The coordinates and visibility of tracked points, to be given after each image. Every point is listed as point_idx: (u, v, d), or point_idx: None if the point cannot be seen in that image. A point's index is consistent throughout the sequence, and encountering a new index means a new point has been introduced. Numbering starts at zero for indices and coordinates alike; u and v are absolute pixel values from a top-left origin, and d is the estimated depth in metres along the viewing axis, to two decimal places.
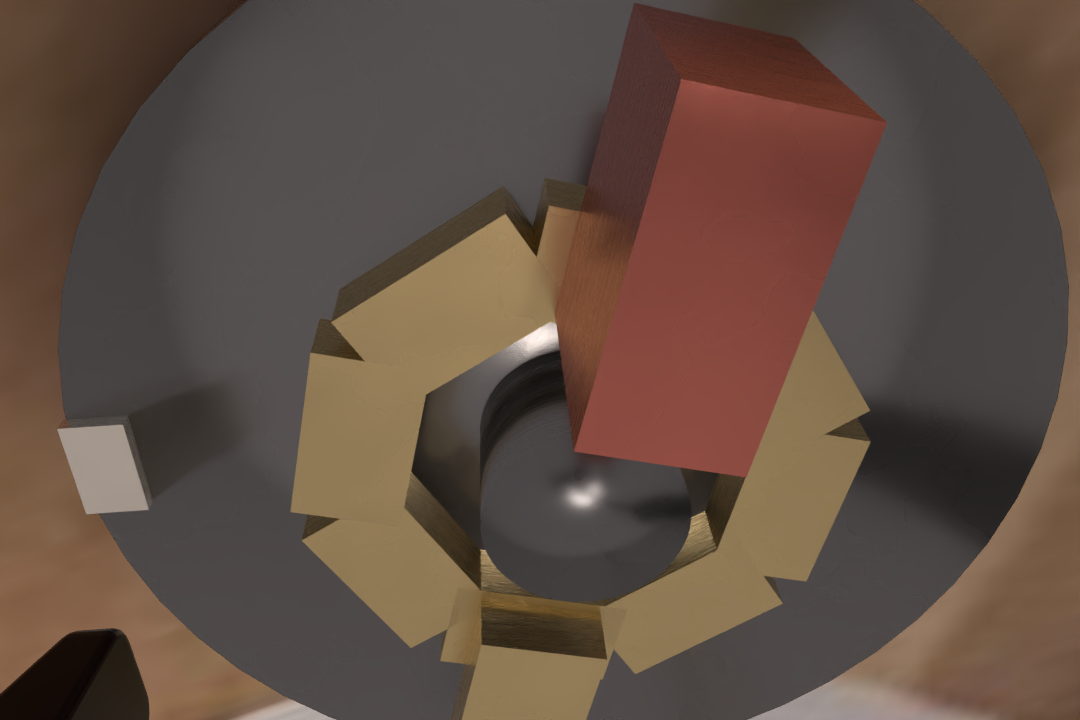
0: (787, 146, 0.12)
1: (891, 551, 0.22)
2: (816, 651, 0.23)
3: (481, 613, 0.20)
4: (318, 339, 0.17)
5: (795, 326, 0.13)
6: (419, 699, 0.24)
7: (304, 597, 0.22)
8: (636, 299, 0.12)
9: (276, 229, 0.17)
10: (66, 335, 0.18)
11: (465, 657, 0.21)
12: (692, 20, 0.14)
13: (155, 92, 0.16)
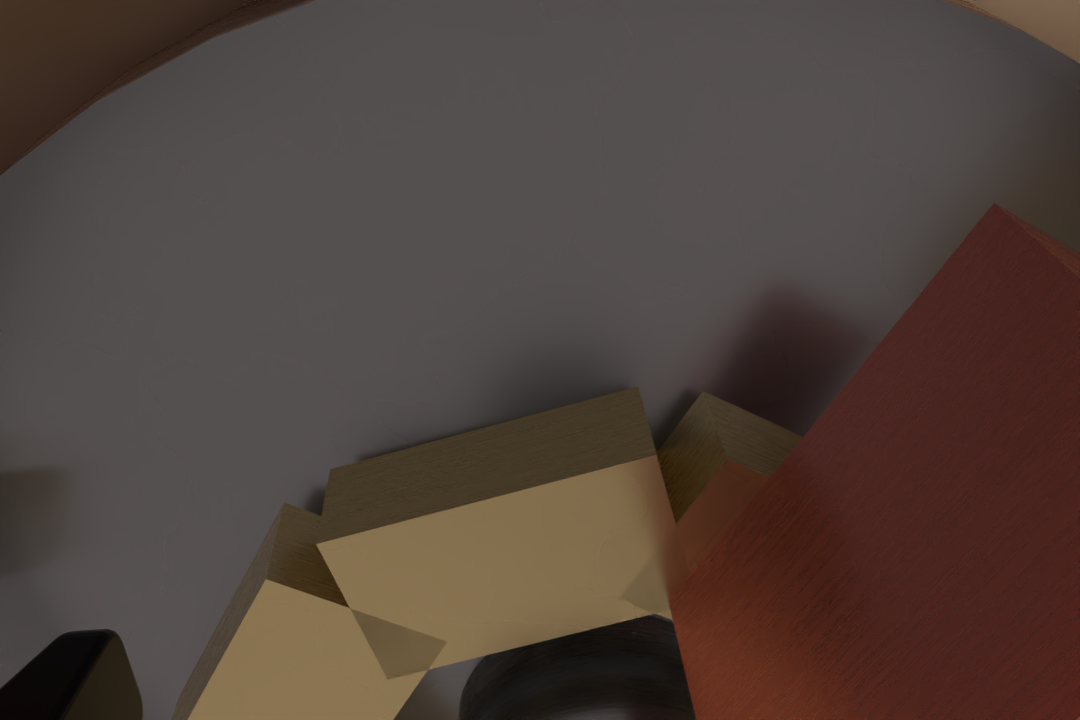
0: None
1: None
2: None
3: None
4: (279, 549, 0.11)
5: None
6: None
7: None
8: None
9: (336, 312, 0.10)
10: None
11: None
12: None
13: (255, 28, 0.09)
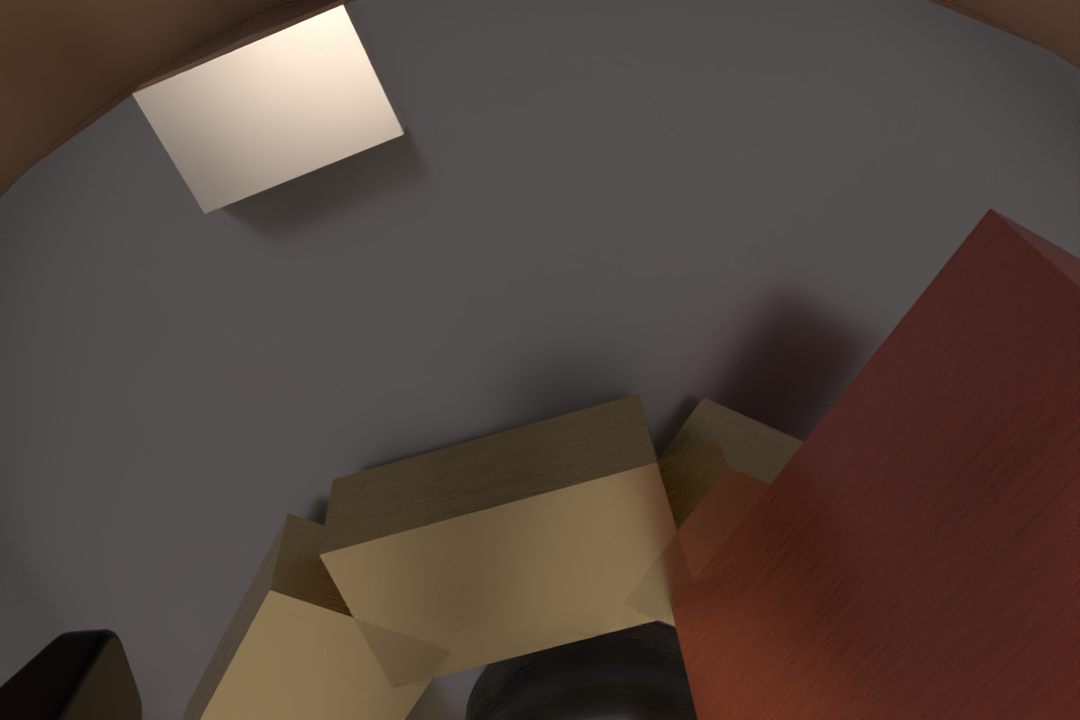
0: None
1: None
2: None
3: None
4: (284, 559, 0.11)
5: None
6: None
7: (102, 490, 0.11)
8: None
9: (857, 294, 0.11)
10: None
11: None
12: (1079, 265, 0.09)
13: None
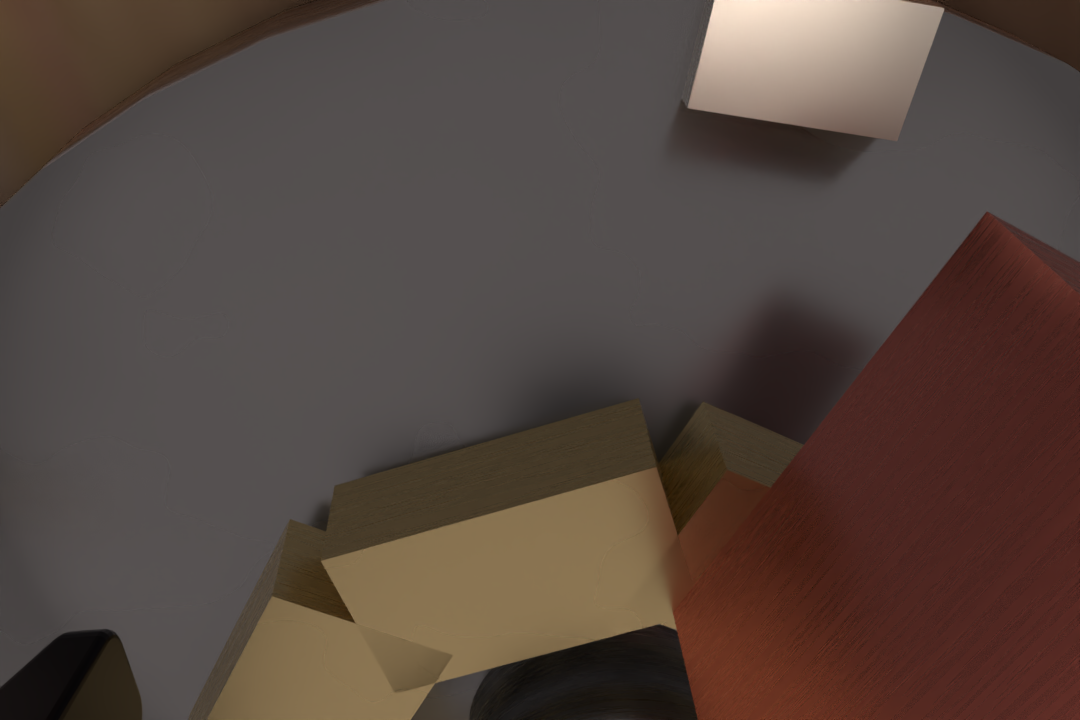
0: None
1: None
2: None
3: None
4: (286, 566, 0.11)
5: None
6: (15, 433, 0.11)
7: (350, 301, 0.10)
8: None
9: None
10: None
11: None
12: (1077, 267, 0.09)
13: None
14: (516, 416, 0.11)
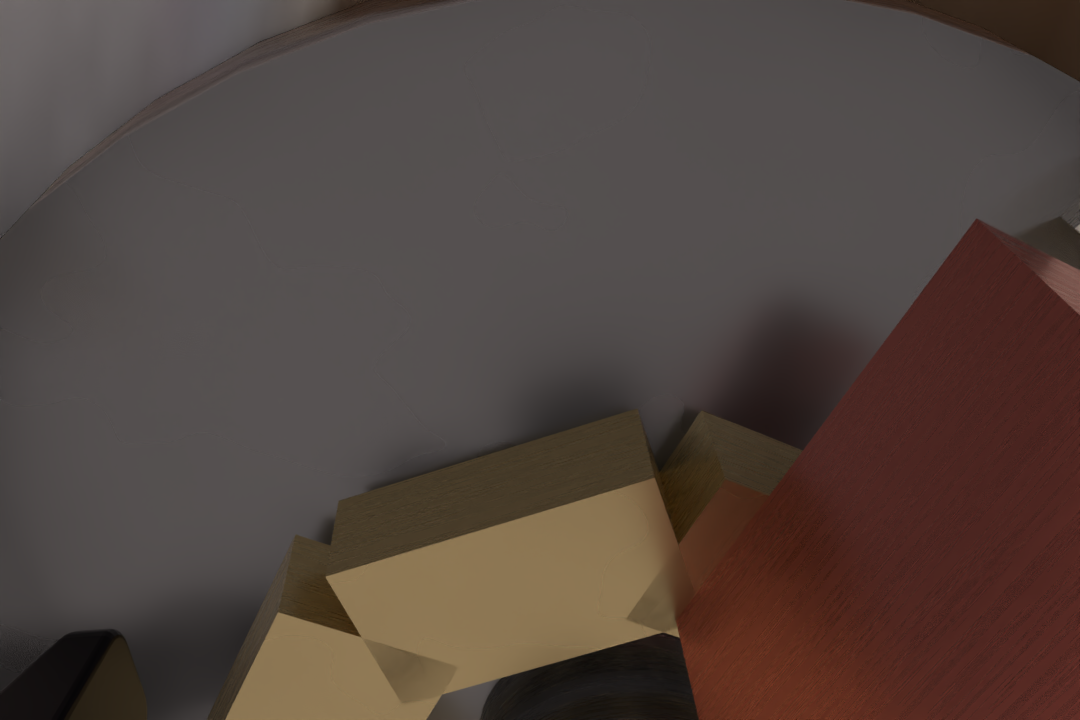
0: None
1: None
2: None
3: None
4: (292, 581, 0.11)
5: None
6: (282, 228, 0.10)
7: (684, 253, 0.10)
8: None
9: None
10: None
11: None
12: (1068, 272, 0.09)
13: None
14: (742, 421, 0.11)
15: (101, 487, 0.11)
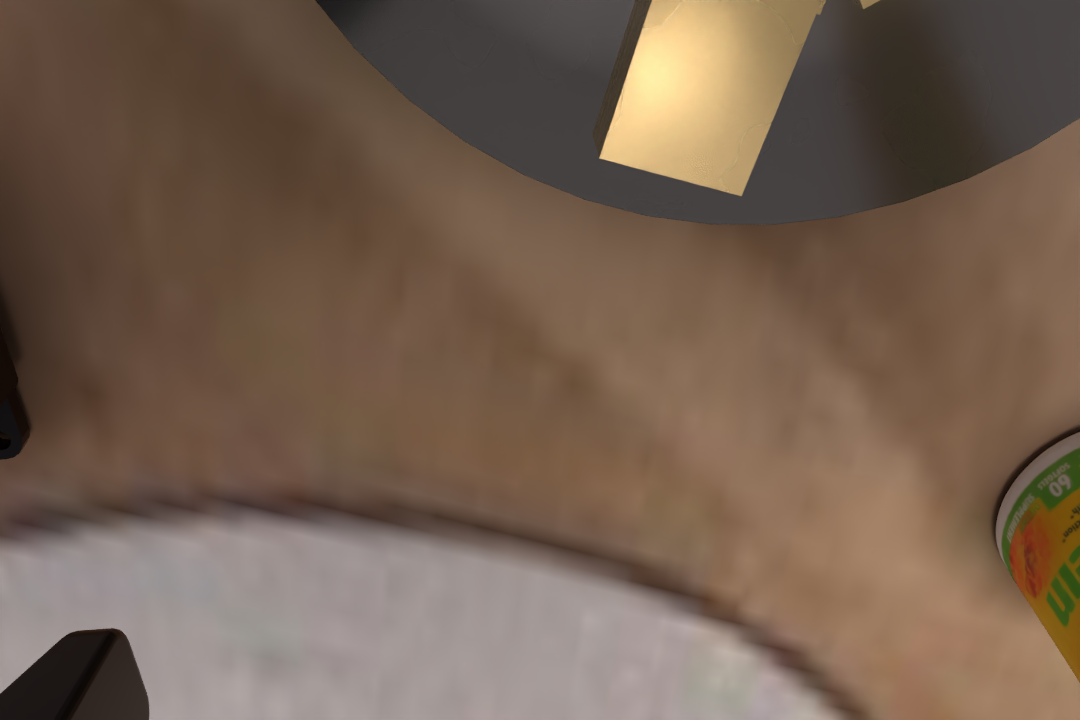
0: None
1: None
2: None
3: None
4: None
5: None
6: None
7: None
8: None
9: None
10: None
11: None
12: None
13: None
14: None
15: None
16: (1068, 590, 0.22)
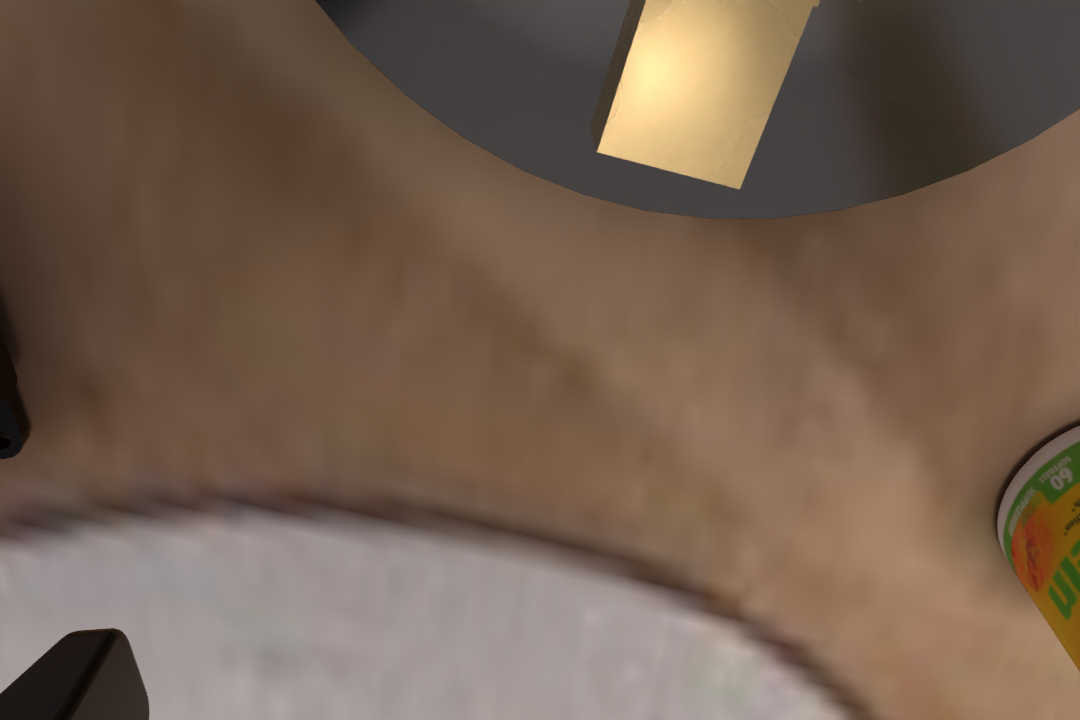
0: None
1: None
2: None
3: None
4: None
5: None
6: None
7: None
8: None
9: None
10: None
11: None
12: None
13: None
14: None
15: None
16: (1070, 584, 0.22)
